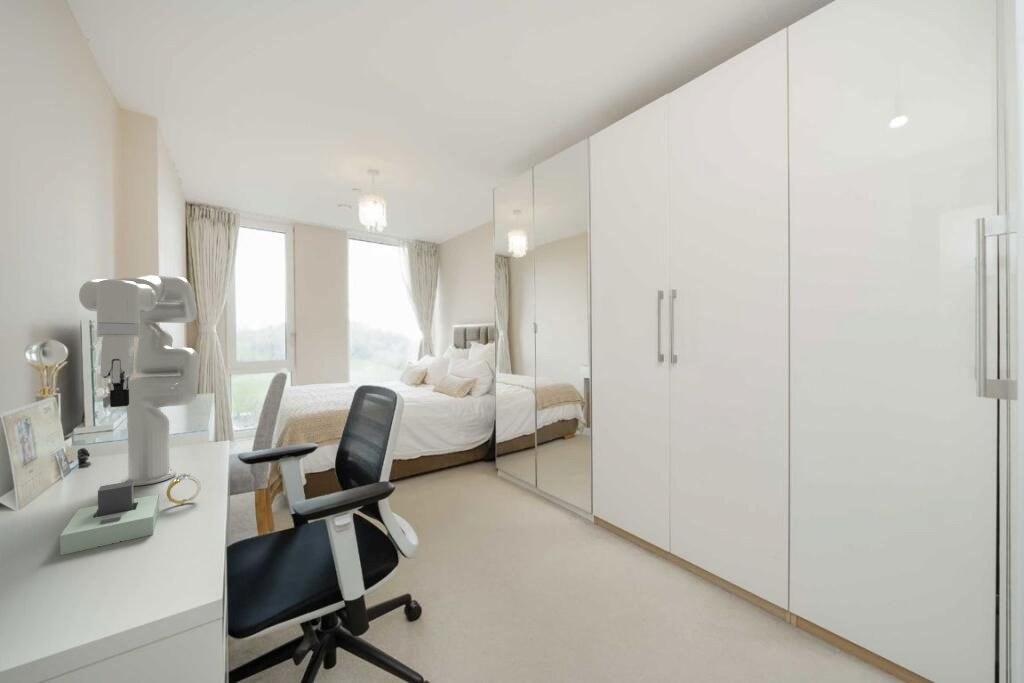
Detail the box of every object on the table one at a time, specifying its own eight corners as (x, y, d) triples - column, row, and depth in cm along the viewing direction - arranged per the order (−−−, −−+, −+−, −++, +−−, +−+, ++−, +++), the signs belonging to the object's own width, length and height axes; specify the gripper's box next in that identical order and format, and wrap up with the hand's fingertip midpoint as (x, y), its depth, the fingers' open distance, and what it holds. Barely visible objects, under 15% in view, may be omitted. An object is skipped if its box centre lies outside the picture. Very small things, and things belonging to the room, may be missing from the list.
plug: (101, 524, 93) (100, 486, 93) (133, 518, 97) (133, 480, 97) (98, 531, 90) (97, 491, 90) (132, 524, 94) (131, 485, 94)
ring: (166, 509, 103) (165, 478, 103) (167, 504, 106) (167, 474, 106) (200, 502, 107) (200, 472, 107) (201, 498, 110) (201, 469, 110)
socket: (79, 525, 94) (78, 505, 94) (158, 509, 103) (158, 491, 102) (60, 555, 81) (60, 531, 81) (153, 534, 90) (152, 512, 90)
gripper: (103, 331, 102) (103, 403, 102) (90, 330, 90) (91, 412, 90) (143, 331, 107) (143, 400, 107) (136, 331, 95) (137, 408, 95)
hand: (119, 406), depth 99 cm, fingers closed
